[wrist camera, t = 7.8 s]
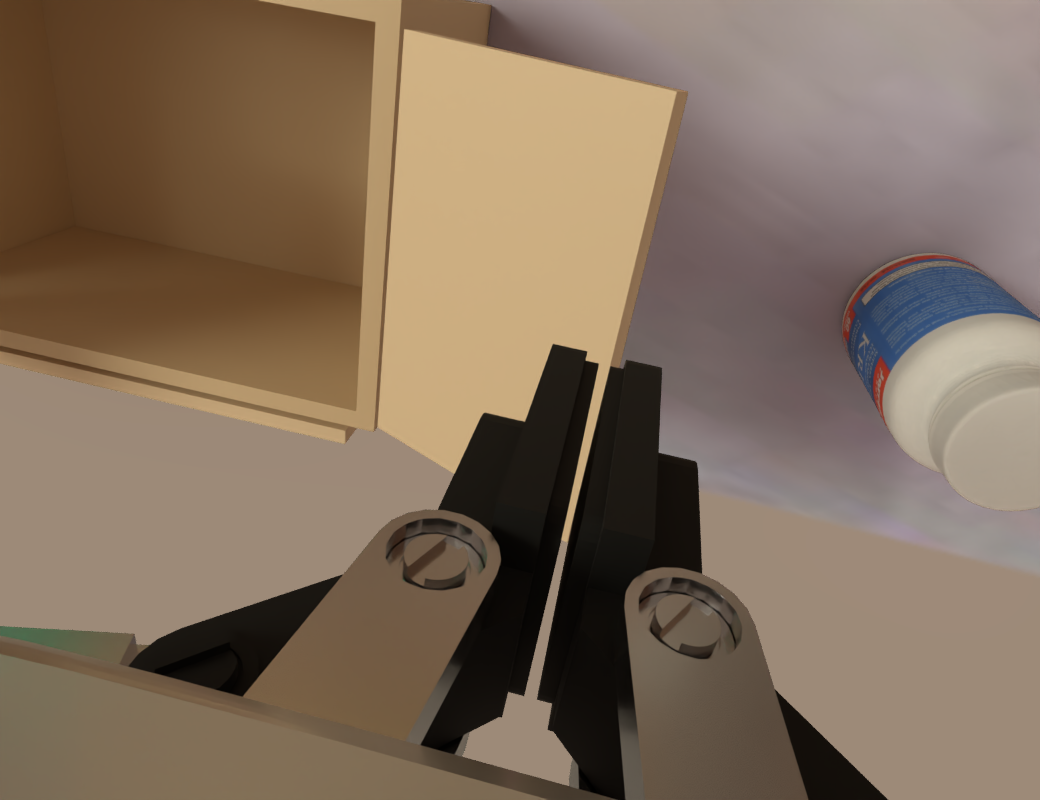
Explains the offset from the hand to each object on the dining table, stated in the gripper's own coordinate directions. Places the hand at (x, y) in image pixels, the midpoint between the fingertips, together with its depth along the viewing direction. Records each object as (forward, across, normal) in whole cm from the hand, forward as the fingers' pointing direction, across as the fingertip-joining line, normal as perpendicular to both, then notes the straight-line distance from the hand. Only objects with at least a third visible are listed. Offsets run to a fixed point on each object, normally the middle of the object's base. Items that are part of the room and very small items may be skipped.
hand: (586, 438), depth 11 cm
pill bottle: (+19, -12, +3) cm, 22 cm away
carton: (+18, +16, +1) cm, 24 cm away
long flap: (+9, +7, +1) cm, 11 cm away
